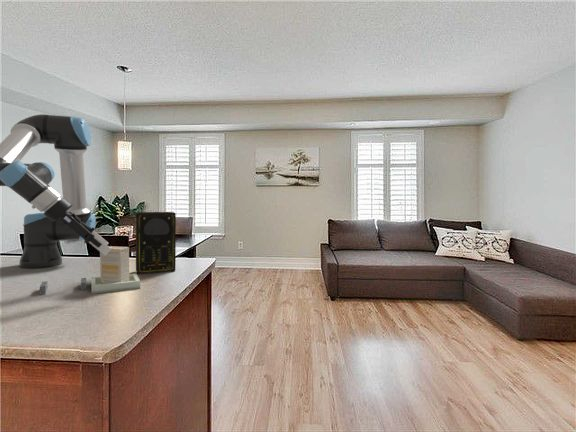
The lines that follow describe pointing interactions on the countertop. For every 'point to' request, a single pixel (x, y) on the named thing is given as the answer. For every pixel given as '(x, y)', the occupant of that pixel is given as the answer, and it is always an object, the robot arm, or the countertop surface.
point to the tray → (114, 284)
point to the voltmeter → (155, 242)
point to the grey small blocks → (45, 286)
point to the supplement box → (115, 265)
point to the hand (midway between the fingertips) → (107, 249)
